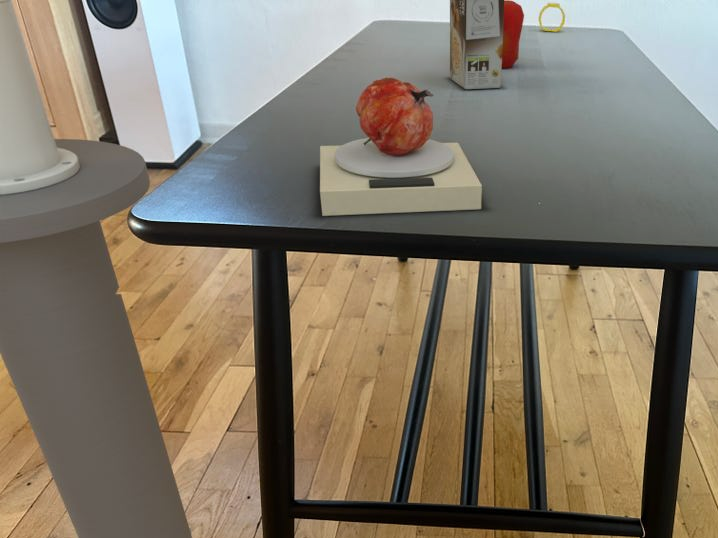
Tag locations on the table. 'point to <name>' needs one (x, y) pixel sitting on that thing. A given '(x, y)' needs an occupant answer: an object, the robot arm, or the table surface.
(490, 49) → the coffee box
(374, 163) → the scale
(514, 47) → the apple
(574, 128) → the table surface
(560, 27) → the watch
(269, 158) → the table surface
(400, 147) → the pomegranate
